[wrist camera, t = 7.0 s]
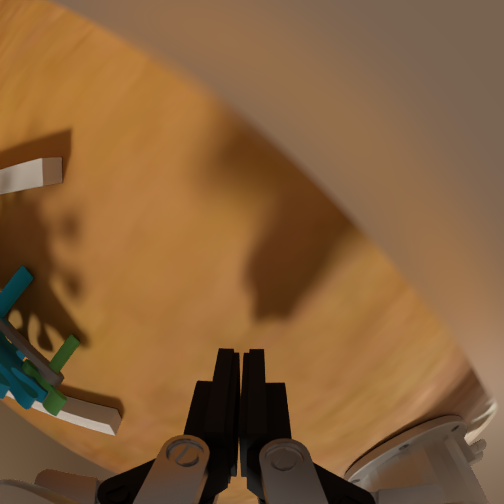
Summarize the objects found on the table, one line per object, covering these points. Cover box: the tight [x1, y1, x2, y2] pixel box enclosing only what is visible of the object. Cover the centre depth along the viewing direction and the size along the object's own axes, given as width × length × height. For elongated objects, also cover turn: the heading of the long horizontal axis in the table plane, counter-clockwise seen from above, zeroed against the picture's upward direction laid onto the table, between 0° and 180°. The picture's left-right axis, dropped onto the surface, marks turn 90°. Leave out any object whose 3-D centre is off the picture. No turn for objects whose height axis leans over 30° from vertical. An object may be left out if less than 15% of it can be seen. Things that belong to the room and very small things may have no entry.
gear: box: [0, 265, 80, 416], centre depth 10 cm, size 11×6×10 cm
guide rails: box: [0, 157, 122, 435], centre depth 12 cm, size 12×16×2 cm
